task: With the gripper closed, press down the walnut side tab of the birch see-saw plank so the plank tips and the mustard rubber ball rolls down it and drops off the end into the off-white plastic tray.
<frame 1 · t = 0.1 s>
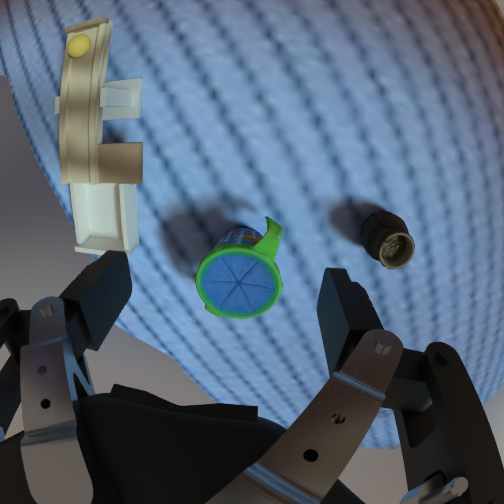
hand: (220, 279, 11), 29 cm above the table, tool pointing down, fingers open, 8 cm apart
mate gourd: (376, 227, 40), on the table
snack cup: (243, 248, 43), on the table
stand: (109, 100, 33), on the table
ball: (85, 47, 23), point 8 cm above the table, touching lever
lever: (97, 98, 26), point 8 cm above the table, hinge at 0.0°, touching ball
tray: (110, 210, 41), on the table
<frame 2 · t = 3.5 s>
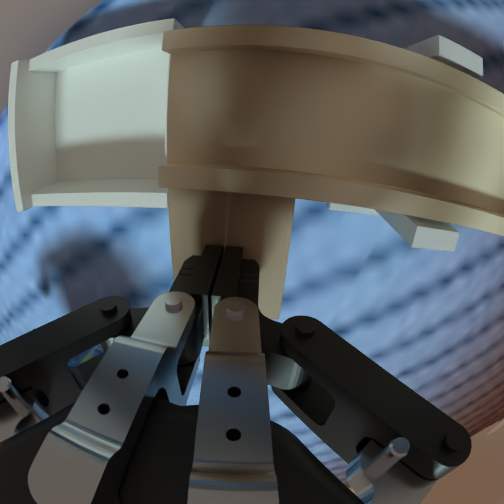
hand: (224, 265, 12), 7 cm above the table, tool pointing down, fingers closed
snack cup: (108, 348, 25), on the table
stand: (382, 130, 15), on the table
lever: (439, 217, 9), point 8 cm above the table, hinge at 4.6°, touching ball, gripper
tray: (111, 117, 15), on the table
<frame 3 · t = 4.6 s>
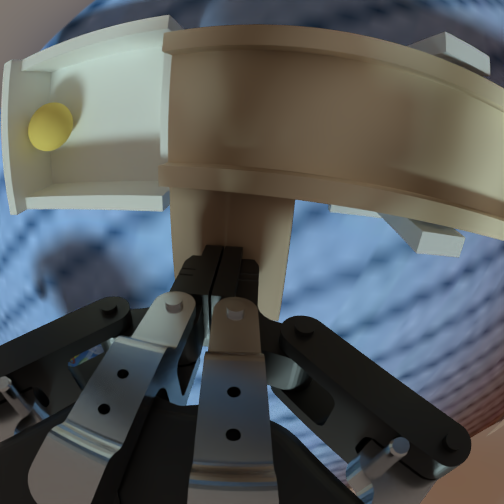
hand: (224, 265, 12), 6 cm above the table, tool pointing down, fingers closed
snack cup: (105, 352, 25), on the table
stand: (384, 130, 14), on the table
ball: (44, 128, 13), point 2 cm above the table, tilted 59°, touching tray
lever: (443, 221, 9), point 8 cm above the table, hinge at 8.4°, touching gripper
tray: (106, 117, 15), on the table
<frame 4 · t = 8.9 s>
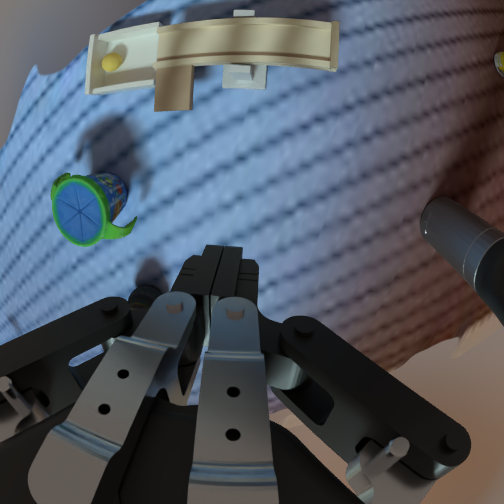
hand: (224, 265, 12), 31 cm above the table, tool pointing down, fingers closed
mate gourd: (152, 294, 52), on the table
supplement bottle: (500, 65, 26), on the table
snack cup: (110, 192, 43), on the table
stand: (246, 54, 32), on the table
ball: (104, 64, 31), point 2 cm above the table, tilted 78°, touching tray
lever: (239, 62, 27), point 8 cm above the table, hinge at 8.5°
tray: (132, 61, 32), on the table
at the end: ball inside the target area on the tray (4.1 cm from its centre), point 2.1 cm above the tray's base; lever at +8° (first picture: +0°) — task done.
